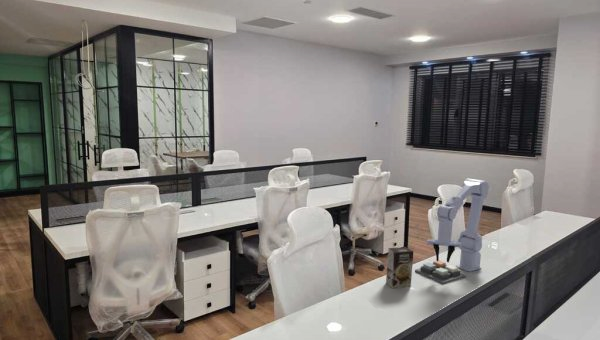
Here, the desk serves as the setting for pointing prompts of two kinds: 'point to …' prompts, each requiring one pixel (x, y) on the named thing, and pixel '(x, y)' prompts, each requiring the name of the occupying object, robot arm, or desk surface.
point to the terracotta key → (439, 263)
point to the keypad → (438, 277)
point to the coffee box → (399, 267)
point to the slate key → (429, 266)
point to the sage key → (441, 271)
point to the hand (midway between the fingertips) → (442, 261)
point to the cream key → (451, 268)
